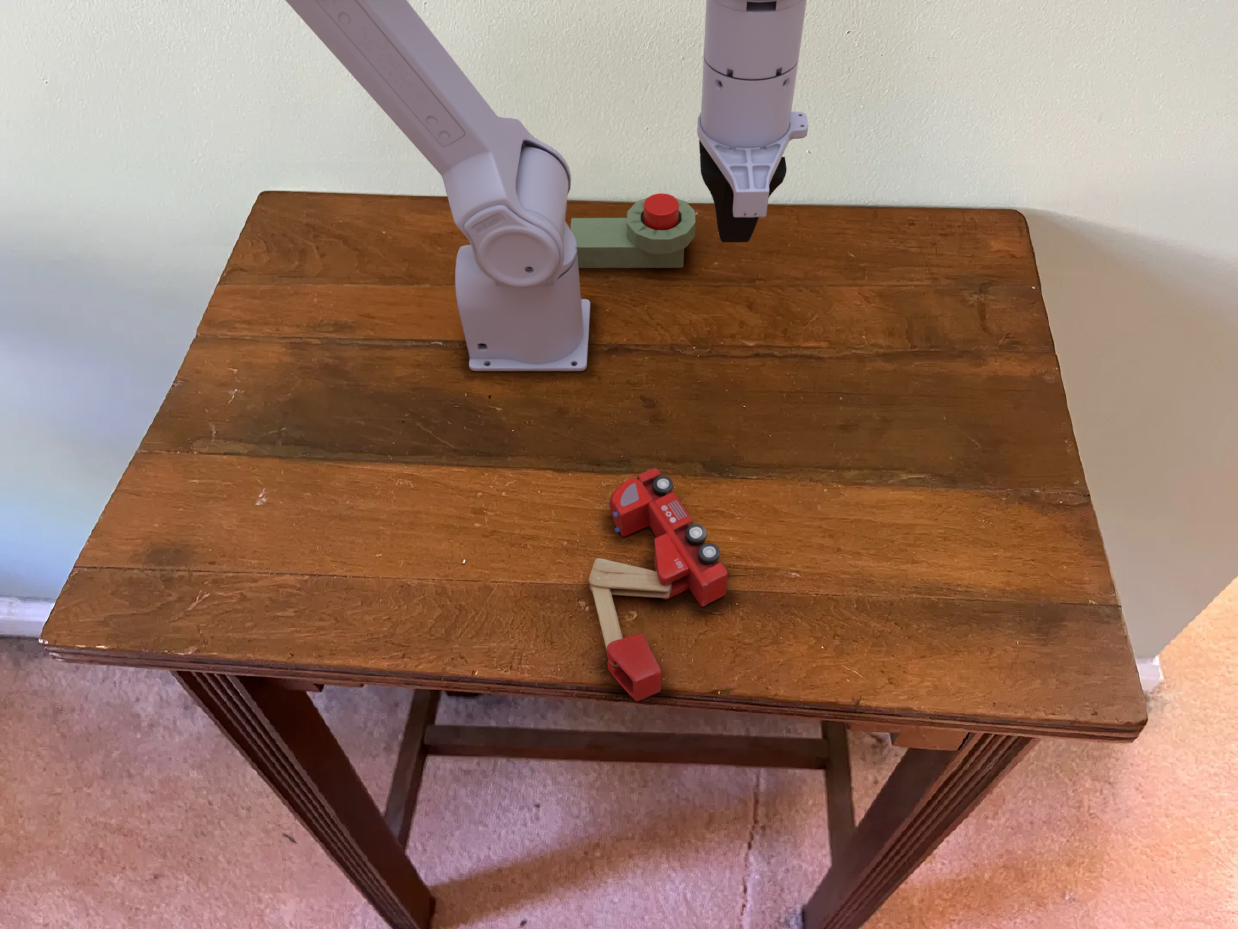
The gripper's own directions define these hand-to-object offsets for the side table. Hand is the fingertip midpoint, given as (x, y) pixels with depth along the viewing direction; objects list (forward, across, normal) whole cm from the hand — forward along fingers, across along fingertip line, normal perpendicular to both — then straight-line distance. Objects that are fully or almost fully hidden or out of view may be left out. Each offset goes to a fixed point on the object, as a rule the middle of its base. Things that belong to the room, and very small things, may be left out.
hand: (734, 236), depth 63 cm
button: (+7, +11, +5) cm, 14 cm away
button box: (+10, +10, +8) cm, 17 cm away
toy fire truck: (+9, -21, +2) cm, 23 cm away
